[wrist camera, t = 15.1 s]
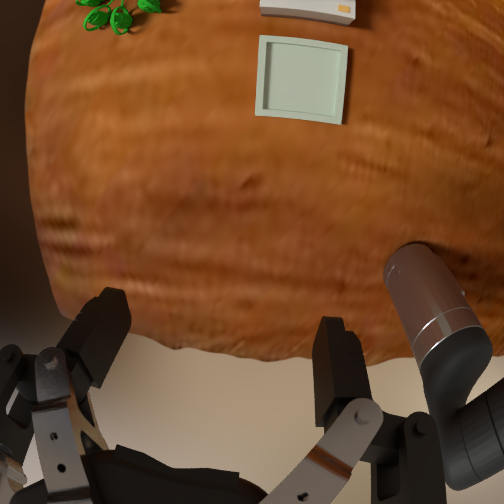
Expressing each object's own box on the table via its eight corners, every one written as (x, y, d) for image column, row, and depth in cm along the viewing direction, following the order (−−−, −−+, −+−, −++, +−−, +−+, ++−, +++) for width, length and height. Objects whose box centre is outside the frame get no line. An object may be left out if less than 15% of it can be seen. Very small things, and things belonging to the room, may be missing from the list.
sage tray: (345, 47, 25) (347, 46, 24) (338, 123, 30) (341, 124, 29) (260, 37, 25) (259, 35, 24) (255, 114, 31) (254, 115, 30)
